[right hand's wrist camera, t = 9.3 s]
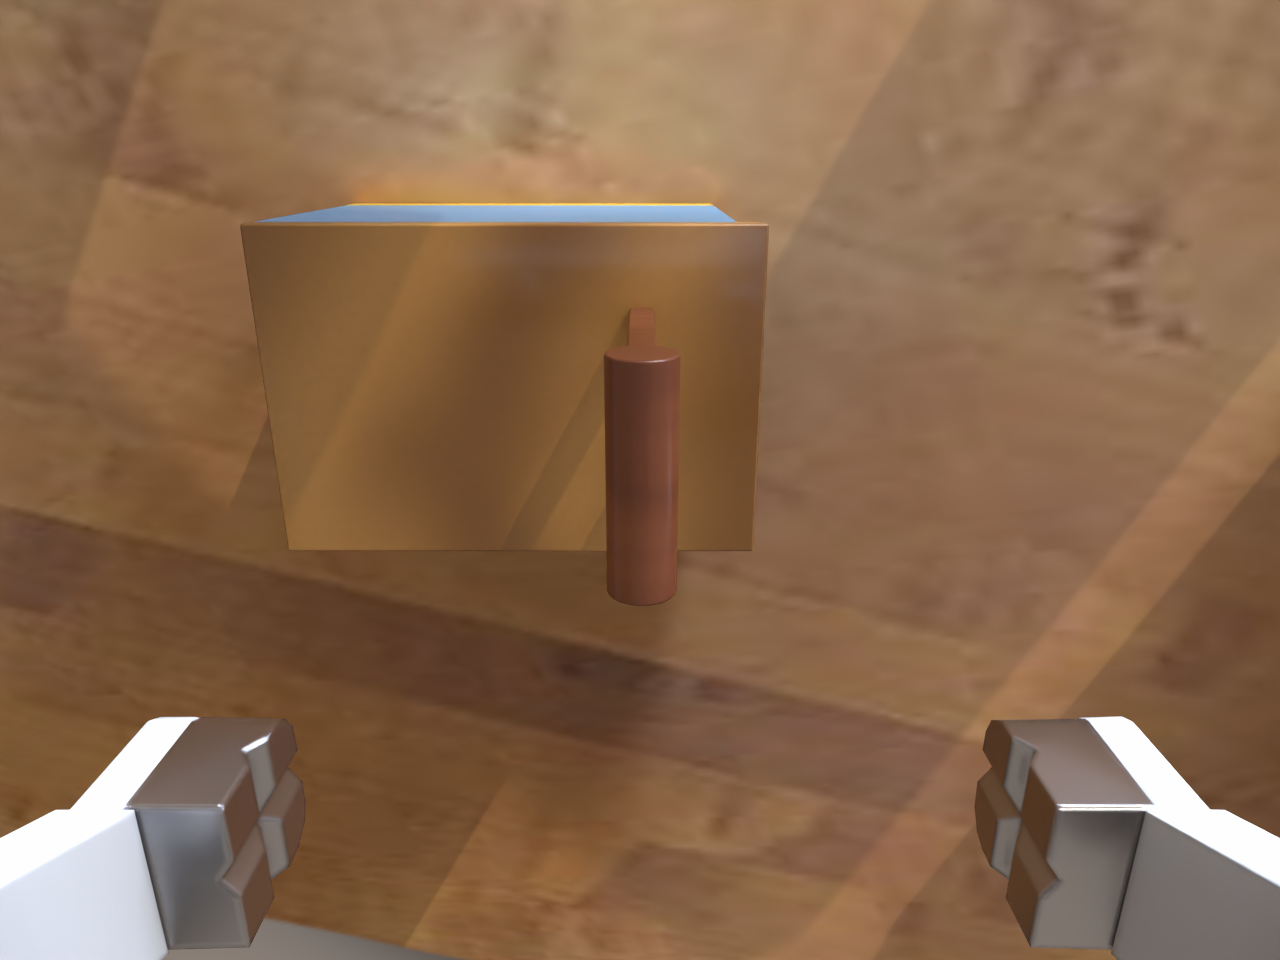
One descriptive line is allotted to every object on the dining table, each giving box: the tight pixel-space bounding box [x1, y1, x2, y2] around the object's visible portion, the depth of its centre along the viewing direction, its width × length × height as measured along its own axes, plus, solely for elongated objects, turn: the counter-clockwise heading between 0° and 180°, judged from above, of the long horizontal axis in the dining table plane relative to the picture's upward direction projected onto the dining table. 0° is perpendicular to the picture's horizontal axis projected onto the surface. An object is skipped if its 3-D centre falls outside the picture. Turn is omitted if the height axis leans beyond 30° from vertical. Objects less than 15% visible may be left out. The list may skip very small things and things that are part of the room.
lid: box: [240, 222, 769, 606], centre depth 23 cm, size 14×10×8 cm
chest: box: [255, 204, 736, 222], centre depth 31 cm, size 14×10×10 cm
